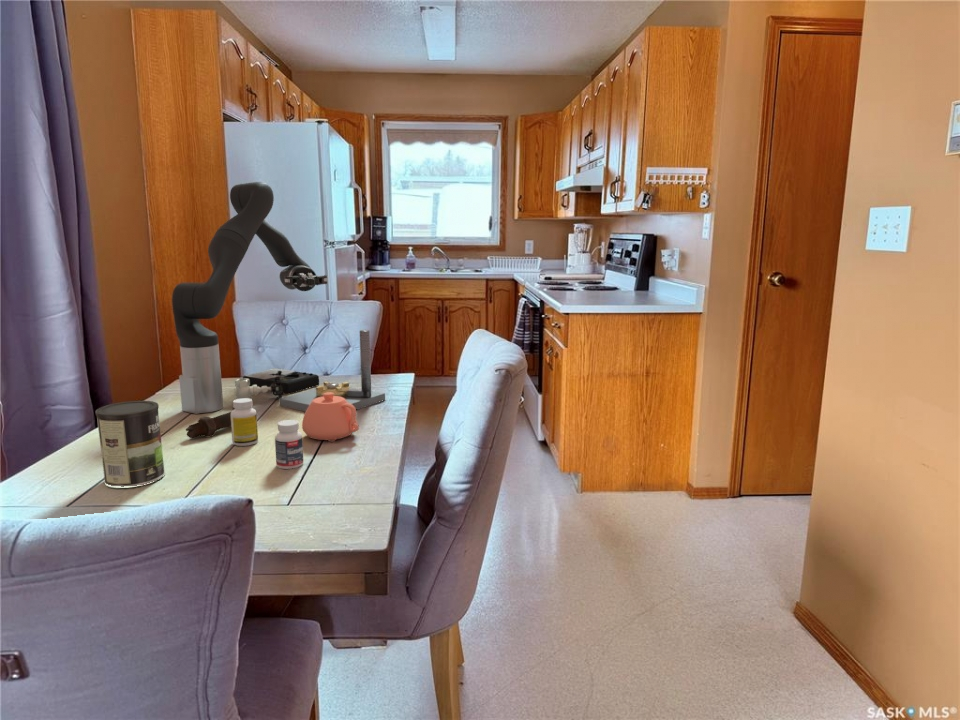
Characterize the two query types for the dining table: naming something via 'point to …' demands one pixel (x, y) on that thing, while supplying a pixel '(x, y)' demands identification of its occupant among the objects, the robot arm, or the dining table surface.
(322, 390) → the brass hub with handle
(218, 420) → the bolt
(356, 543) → the dining table surface
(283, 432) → the pill bottle
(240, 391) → the valve
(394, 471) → the dining table surface
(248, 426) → the supplement bottle
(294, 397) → the base plate
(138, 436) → the coffee can
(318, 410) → the sugar bowl
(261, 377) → the multimeter
